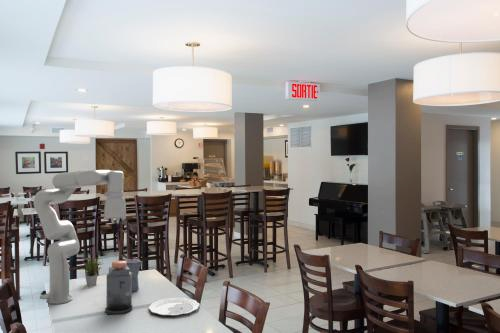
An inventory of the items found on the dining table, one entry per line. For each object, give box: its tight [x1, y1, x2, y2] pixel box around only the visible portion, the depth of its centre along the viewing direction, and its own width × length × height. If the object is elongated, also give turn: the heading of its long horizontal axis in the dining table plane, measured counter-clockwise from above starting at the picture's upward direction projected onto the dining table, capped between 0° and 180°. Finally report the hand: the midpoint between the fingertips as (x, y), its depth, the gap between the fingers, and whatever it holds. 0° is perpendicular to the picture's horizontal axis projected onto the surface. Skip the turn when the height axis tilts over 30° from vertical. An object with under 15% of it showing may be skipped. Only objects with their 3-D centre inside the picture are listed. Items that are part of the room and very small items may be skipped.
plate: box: [148, 297, 201, 317], centre depth 211 cm, size 25×25×2 cm
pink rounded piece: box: [111, 260, 127, 269], centre depth 208 cm, size 7×7×6 cm
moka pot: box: [118, 255, 143, 294], centre depth 240 cm, size 10×15×20 cm, turn 78°
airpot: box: [105, 266, 134, 316], centre depth 208 cm, size 13×19×21 cm
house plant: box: [81, 257, 103, 287], centre depth 249 cm, size 14×14×16 cm
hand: (114, 231), depth 211 cm, fingers closed
